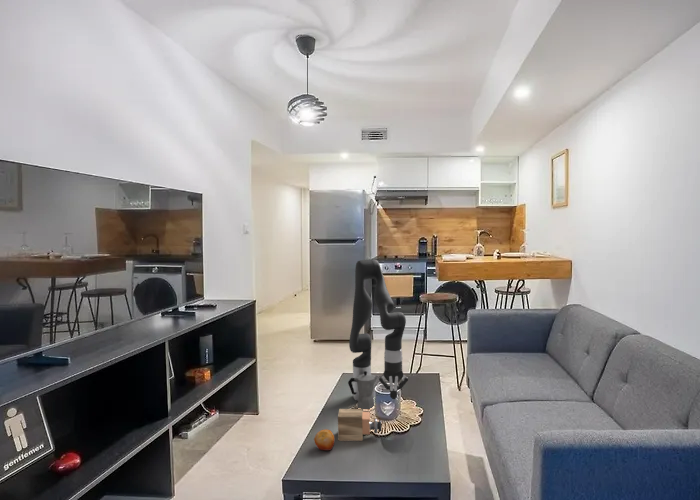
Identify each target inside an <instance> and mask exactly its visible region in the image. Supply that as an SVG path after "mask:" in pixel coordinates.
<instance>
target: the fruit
mask: <svg viewBox="0 0 700 500" xmlns="http://www.w3.org/2000/svg"><path fill="white" fill-rule="evenodd" d="M313 440H314V444H315V445H316V448H317V449H318V450H319V451H330V450H332V449H333V447H334V445H335V435H334V434H333V432H332V431H331V430H330V429H327V428H325V429H321V430H319V431H318V432H317V433H316V434H315V436H314V439H313Z"/></svg>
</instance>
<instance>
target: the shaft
mask: <svg viewBox="0 0 700 500" xmlns="http://www.w3.org/2000/svg"><path fill="white" fill-rule="evenodd" d="M373 420H374V421H370V431H371V430H374V434H378V432H382V429H383V428H382V426H383V425H382V420H380V419H379V420H378V418H374V419H373Z"/></svg>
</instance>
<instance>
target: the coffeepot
mask: <svg viewBox="0 0 700 500" xmlns="http://www.w3.org/2000/svg"><path fill="white" fill-rule="evenodd" d="M377 379H379V376H378V375H374V374H371V375H370V374H367V371H364V374H362V375H359V376H357V377H354V378H353V377H351V378H350V379H349V380H348V382H347V384H348V386H349V388H350V393H351V394H352V395H354V394H356V393H357V392H354V389H353V382H357V386H358V391H359V398H358V401H357V406H356V408H357V407H358V408H361V409H370V408H372V407H373V406H374V403H375V399H374V393H373V392H374V388H375V383H376V382H377Z"/></svg>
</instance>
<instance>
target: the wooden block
mask: <svg viewBox="0 0 700 500" xmlns="http://www.w3.org/2000/svg"><path fill="white" fill-rule="evenodd" d="M363 412H364V411H363V409H357V408H339V409H338V416H337V430H338V431H337V432H338V433H337V434H338V436H337V438H338V441H340V442H341V441H342V442H344V441H345V442H348V441H349V442H350V441H351V442H352V441H353V442H356V441H357V442H359V441H361V442H363V440H364V434H363V432H362V414H363Z"/></svg>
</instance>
